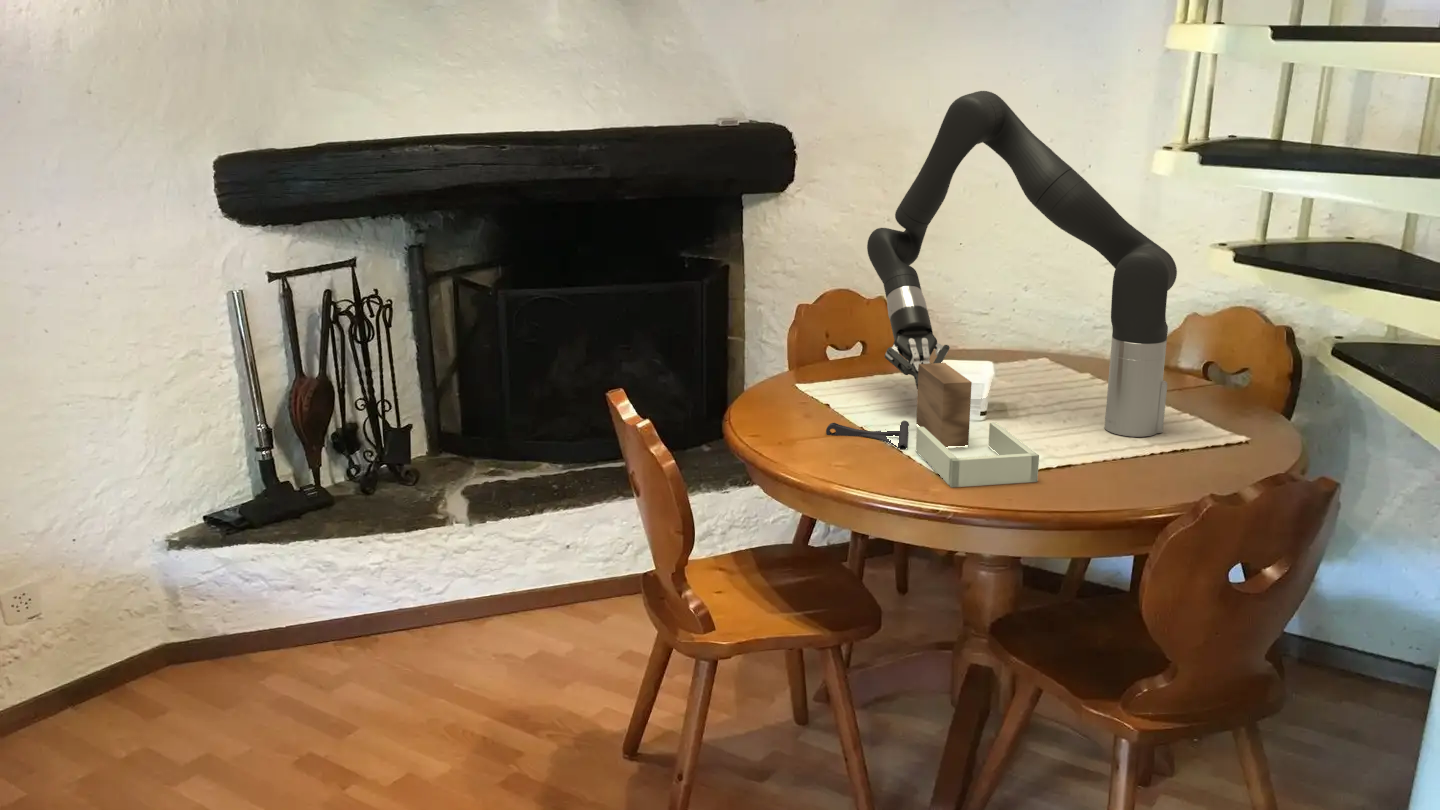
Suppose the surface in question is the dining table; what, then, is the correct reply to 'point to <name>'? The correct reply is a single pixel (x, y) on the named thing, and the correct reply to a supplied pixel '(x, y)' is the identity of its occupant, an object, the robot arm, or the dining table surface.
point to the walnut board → (944, 403)
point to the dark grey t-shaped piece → (872, 433)
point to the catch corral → (981, 460)
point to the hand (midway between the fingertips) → (926, 391)
